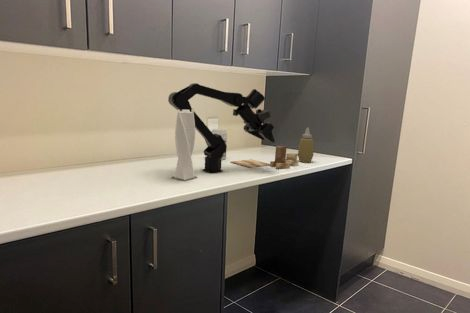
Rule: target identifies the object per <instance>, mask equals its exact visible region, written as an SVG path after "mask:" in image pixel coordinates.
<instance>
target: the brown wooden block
mask: <svg viewBox="0 0 470 313" xmlns="http://www.w3.org/2000/svg"><path fill="white" fill-rule="evenodd" d="M287 149H288V148H287V146H285V145H276V146H275V153H274V154H275V155H274V161H275V166H274V167H273V168H276V163H285V162H286V154H287Z"/></svg>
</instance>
